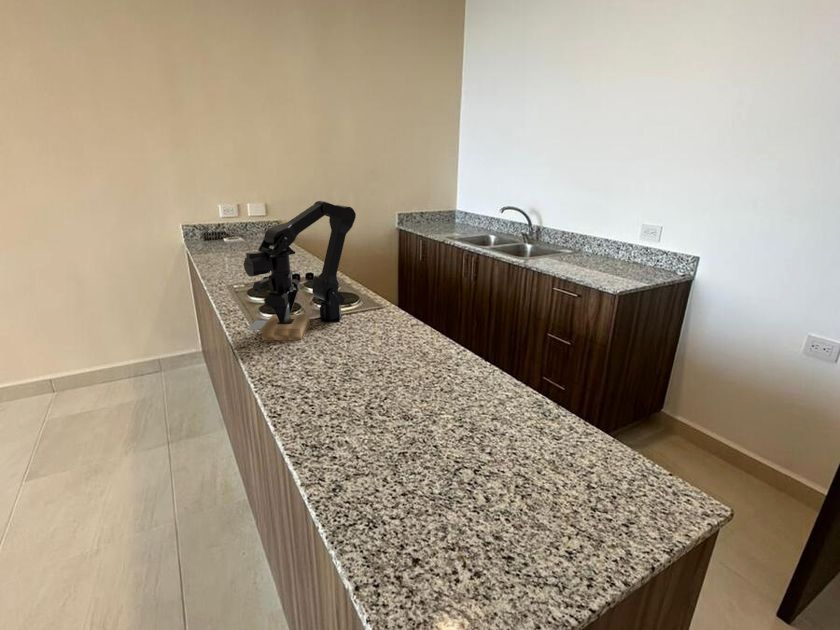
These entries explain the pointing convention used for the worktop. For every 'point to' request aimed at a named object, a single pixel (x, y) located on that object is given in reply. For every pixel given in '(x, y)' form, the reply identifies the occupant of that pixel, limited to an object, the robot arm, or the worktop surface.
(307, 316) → the socket block
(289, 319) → the pin
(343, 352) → the worktop surface
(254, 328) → the mat
